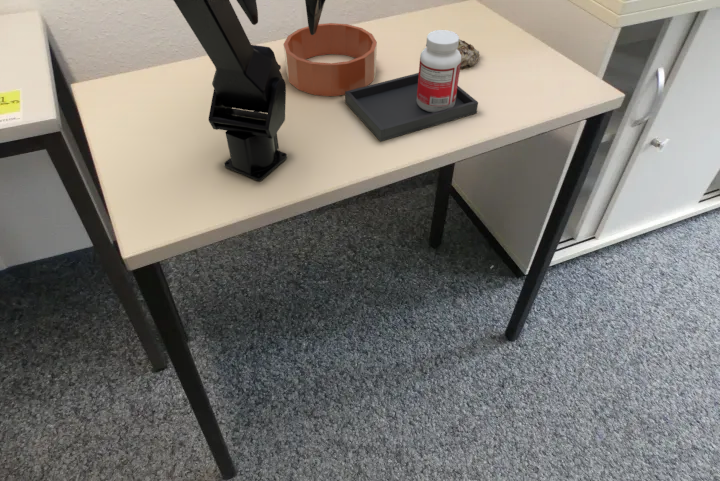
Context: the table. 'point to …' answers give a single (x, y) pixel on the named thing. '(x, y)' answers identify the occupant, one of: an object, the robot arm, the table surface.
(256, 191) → the table surface
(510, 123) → the table surface
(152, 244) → the table surface
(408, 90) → the tray
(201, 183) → the table surface
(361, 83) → the pot
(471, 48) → the mineral rock
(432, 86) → the pill bottle
